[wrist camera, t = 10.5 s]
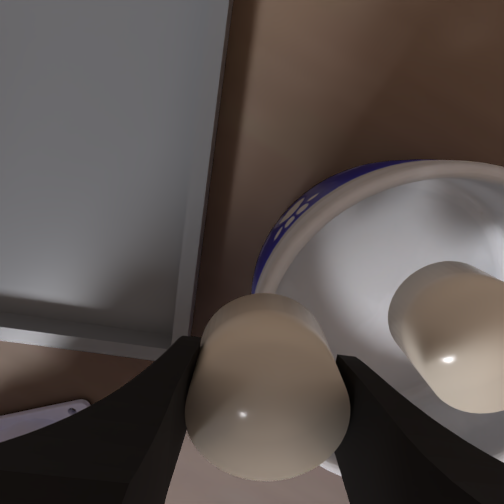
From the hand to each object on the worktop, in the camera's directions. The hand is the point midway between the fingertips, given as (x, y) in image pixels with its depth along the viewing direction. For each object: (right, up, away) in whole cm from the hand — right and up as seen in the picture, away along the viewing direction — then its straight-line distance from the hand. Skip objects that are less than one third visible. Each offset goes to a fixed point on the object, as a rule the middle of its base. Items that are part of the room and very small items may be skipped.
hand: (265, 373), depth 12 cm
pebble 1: (0, 0, +1) cm, 1 cm away
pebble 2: (+7, +1, +3) cm, 8 cm away
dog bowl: (+7, +2, +9) cm, 12 cm away
